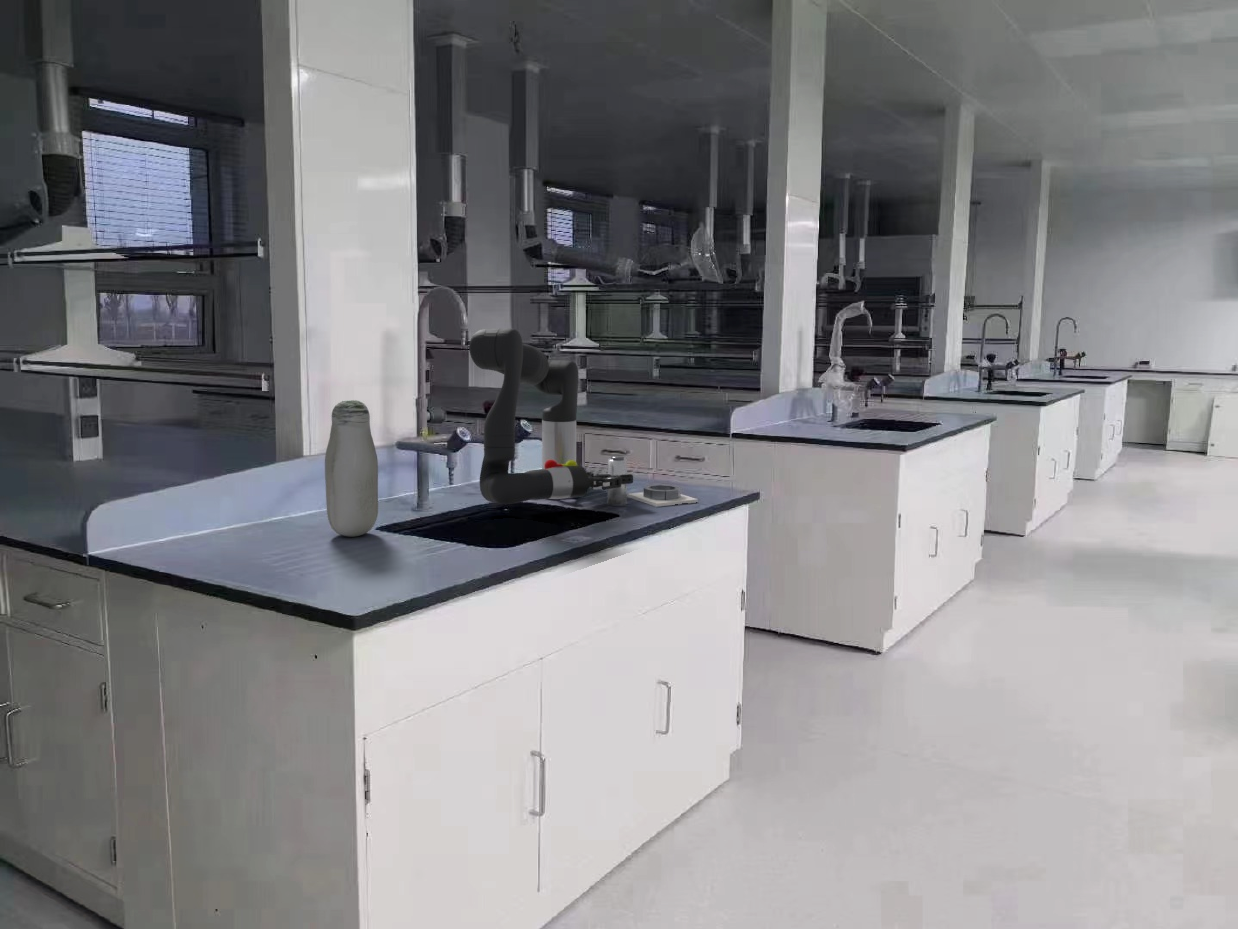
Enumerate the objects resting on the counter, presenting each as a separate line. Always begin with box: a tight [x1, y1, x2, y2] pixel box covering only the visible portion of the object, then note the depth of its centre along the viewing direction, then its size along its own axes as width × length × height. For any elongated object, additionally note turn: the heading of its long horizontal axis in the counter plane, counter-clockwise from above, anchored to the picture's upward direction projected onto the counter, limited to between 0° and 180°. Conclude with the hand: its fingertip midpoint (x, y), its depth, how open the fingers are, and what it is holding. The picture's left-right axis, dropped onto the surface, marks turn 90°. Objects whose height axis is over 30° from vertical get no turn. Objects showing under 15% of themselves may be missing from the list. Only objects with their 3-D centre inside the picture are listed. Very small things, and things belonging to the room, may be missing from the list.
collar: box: [643, 483, 682, 500], centre depth 243 cm, size 9×9×2 cm
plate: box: [626, 491, 699, 508], centre depth 243 cm, size 14×12×1 cm
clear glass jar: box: [607, 455, 628, 507], centre depth 236 cm, size 5×5×12 cm
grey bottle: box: [324, 399, 379, 538], centre depth 199 cm, size 10×10×28 cm
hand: (626, 477), depth 237 cm, fingers closed on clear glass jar, 4 cm apart
